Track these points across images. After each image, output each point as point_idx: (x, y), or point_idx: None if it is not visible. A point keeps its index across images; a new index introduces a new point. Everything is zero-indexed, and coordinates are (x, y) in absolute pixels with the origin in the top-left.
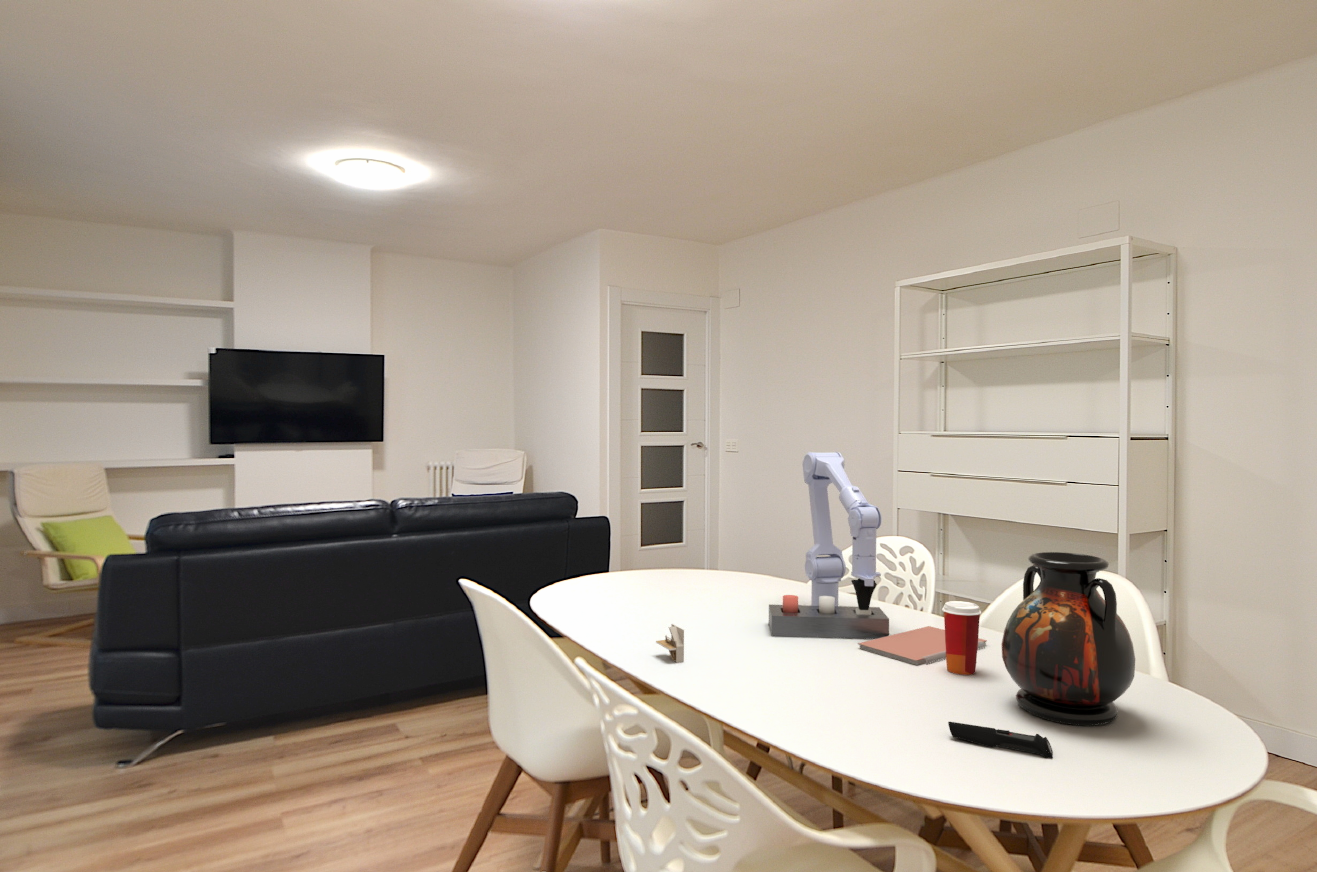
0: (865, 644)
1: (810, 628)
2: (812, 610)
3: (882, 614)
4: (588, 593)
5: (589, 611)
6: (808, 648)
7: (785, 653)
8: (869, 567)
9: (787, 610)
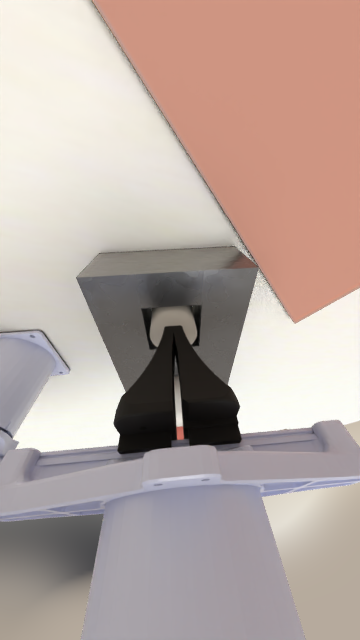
0: (306, 312)
1: None
2: None
3: (194, 280)
4: None
5: None
6: (270, 371)
7: (284, 387)
8: (286, 578)
9: None
